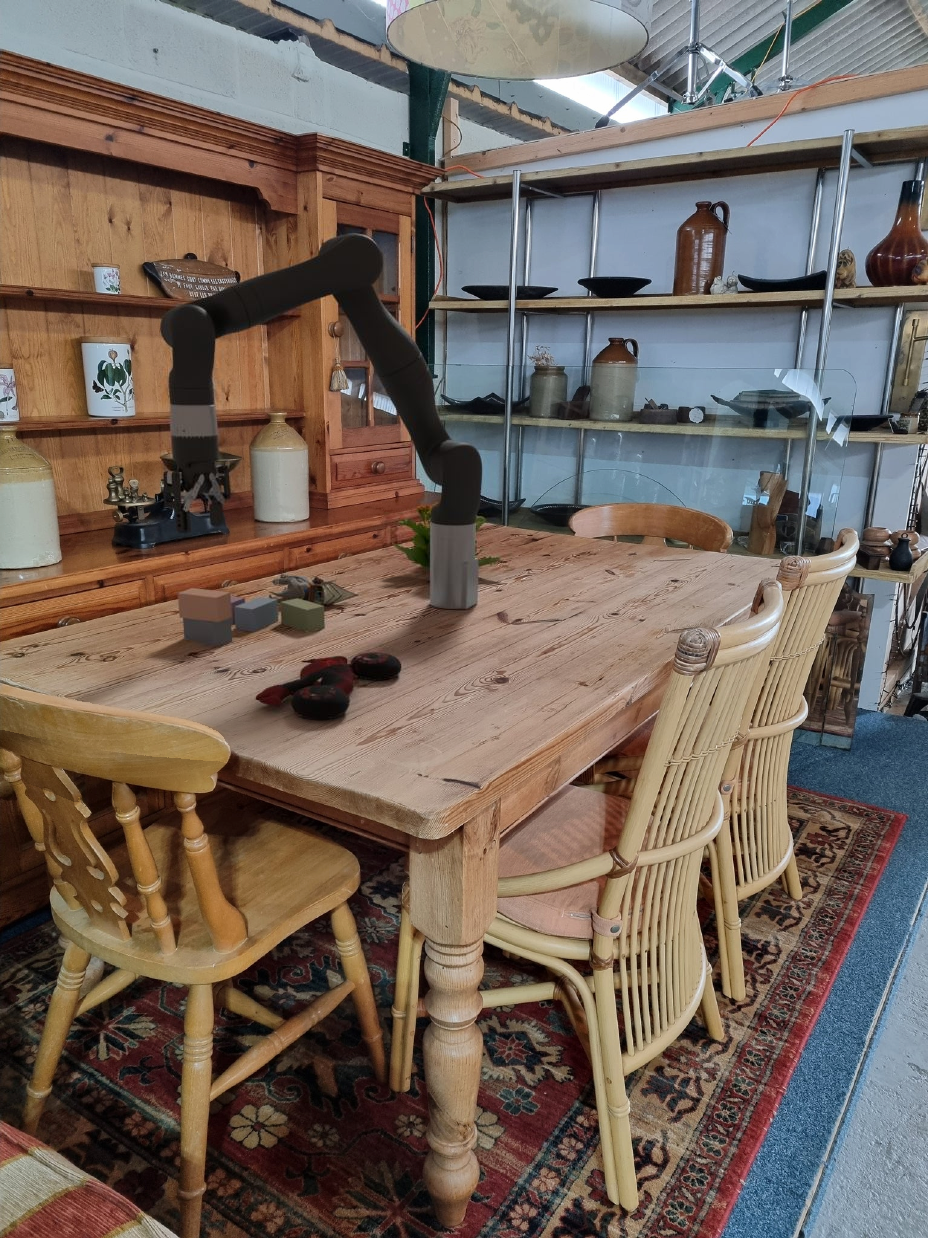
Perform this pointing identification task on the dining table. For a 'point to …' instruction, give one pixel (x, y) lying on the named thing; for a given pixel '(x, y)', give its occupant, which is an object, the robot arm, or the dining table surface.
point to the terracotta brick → (204, 605)
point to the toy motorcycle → (330, 683)
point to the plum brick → (235, 602)
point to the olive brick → (302, 615)
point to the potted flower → (422, 539)
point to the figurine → (311, 590)
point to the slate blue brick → (256, 614)
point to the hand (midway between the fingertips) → (201, 529)
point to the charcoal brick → (208, 631)
